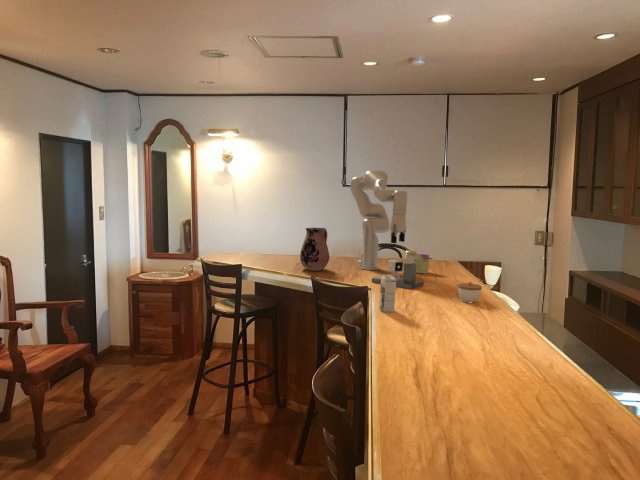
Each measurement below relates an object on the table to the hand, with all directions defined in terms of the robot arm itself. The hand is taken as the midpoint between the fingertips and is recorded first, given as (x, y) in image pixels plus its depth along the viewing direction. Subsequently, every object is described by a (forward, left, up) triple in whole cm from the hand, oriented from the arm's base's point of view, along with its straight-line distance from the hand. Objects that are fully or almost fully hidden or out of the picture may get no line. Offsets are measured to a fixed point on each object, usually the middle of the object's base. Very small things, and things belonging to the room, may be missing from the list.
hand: (397, 242), depth 296 cm
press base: (+10, -15, -20) cm, 27 cm away
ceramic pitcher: (-46, -15, -21) cm, 53 cm away
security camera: (0, 0, -21) cm, 21 cm away
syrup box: (+34, -68, -21) cm, 79 cm away
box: (+3, +25, -21) cm, 32 cm away
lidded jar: (+54, -25, -21) cm, 63 cm away
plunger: (+17, -15, -13) cm, 26 cm away
